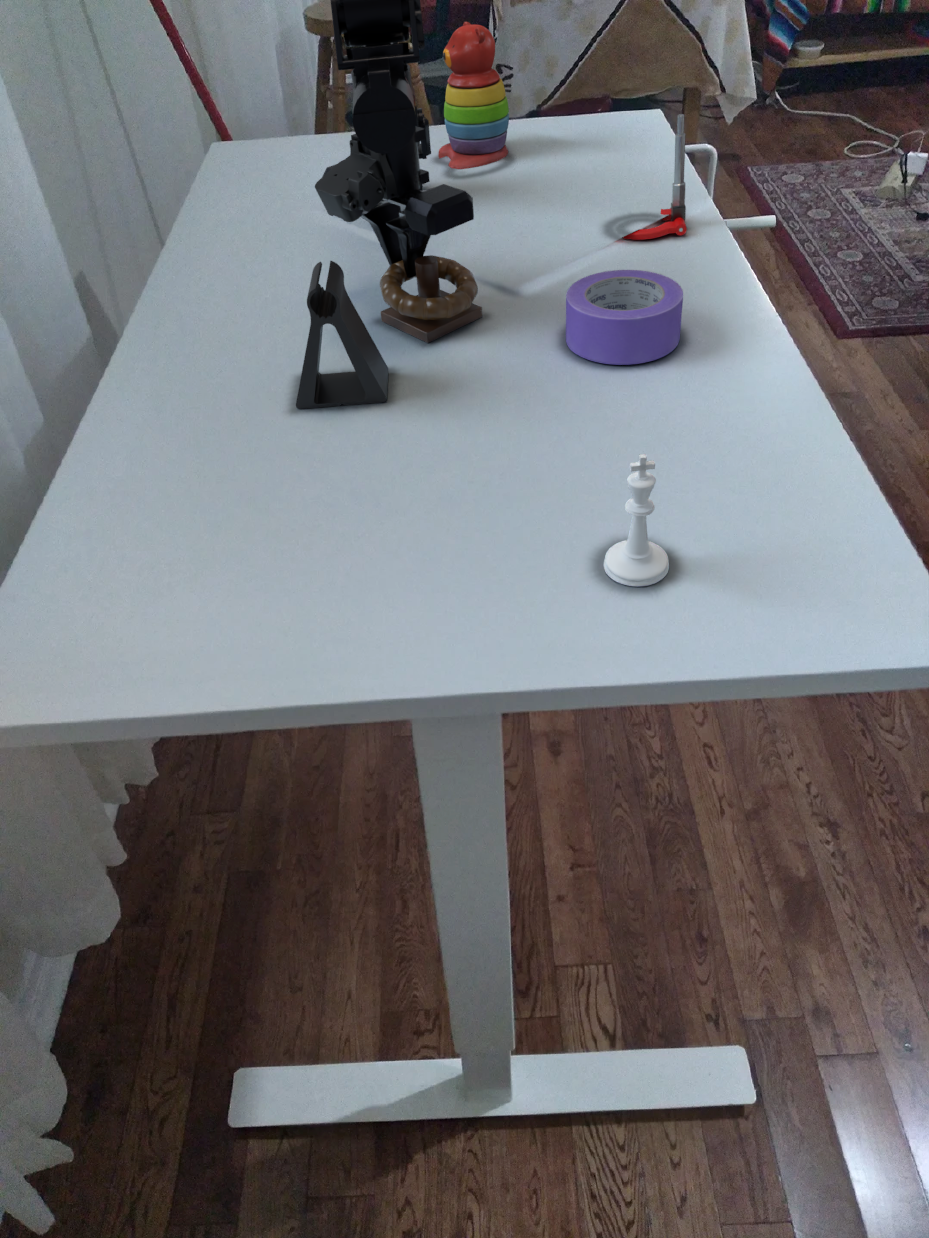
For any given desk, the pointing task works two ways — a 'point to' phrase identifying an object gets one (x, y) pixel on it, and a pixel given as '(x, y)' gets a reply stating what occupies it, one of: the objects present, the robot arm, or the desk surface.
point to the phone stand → (358, 344)
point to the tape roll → (623, 316)
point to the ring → (430, 306)
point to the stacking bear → (474, 100)
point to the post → (429, 289)
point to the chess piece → (638, 535)
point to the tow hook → (678, 196)
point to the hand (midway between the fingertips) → (404, 273)
